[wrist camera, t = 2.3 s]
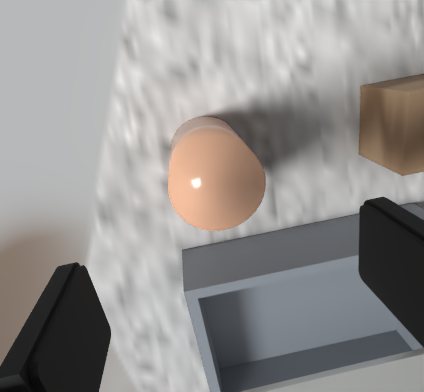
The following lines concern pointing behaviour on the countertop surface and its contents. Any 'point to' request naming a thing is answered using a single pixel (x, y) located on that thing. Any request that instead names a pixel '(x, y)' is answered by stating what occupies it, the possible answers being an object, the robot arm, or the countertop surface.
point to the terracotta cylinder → (213, 175)
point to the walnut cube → (393, 124)
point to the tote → (287, 306)
